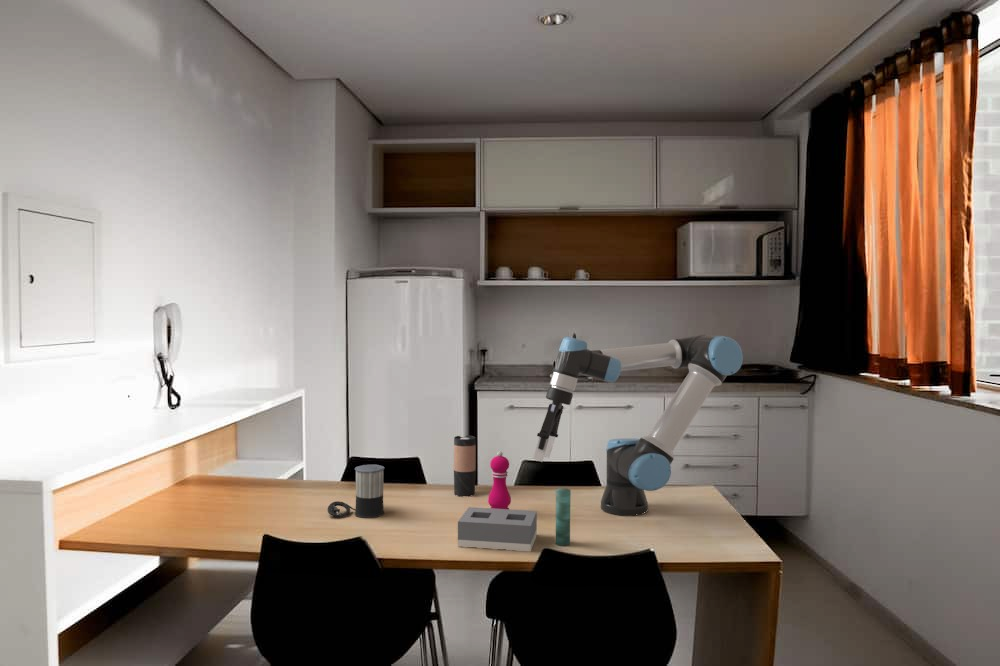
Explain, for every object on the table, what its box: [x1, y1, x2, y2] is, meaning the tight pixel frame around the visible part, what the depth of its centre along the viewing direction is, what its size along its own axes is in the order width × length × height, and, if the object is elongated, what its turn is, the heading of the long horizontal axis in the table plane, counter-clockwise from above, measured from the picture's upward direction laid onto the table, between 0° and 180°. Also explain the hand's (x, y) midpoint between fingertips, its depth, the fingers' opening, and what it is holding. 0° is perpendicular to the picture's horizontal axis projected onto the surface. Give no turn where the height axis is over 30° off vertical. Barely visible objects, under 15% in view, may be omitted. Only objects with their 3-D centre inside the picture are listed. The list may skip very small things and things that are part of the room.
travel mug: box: [453, 435, 477, 497], centre depth 244 cm, size 8×8×20 cm
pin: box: [555, 487, 572, 547], centre depth 194 cm, size 4×4×15 cm
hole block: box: [457, 506, 538, 553], centre depth 196 cm, size 20×14×7 cm
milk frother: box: [326, 464, 385, 519], centre depth 220 cm, size 14×16×15 cm
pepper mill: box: [487, 450, 512, 509], centre depth 221 cm, size 7×7×20 cm
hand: (541, 458), depth 205 cm, fingers open, 13 cm apart
